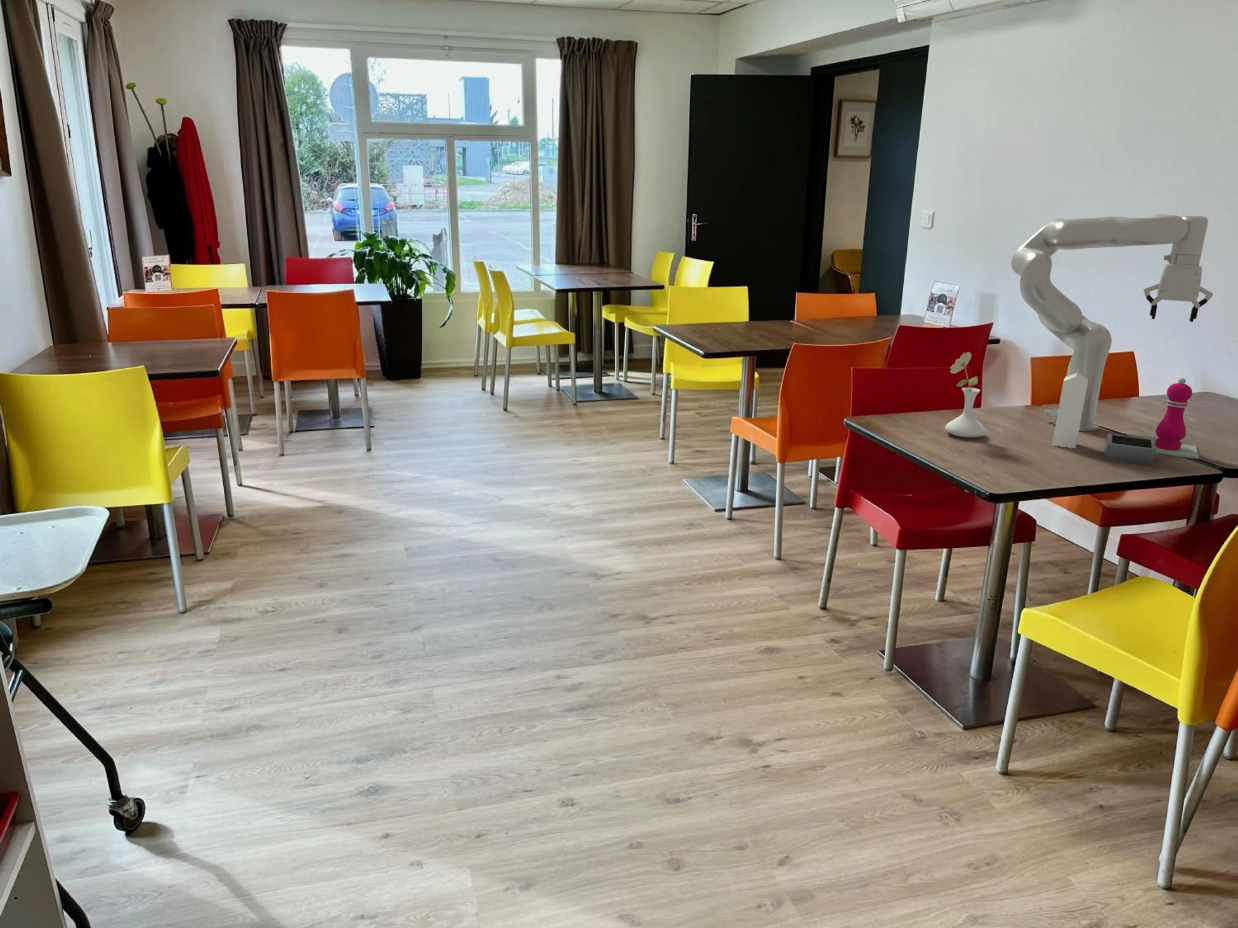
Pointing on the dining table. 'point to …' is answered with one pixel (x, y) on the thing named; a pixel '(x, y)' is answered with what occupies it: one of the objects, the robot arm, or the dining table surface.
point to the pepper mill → (1174, 417)
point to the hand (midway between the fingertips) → (1171, 320)
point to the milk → (1070, 411)
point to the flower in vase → (966, 405)
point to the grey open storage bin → (1130, 449)
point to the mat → (1180, 451)
